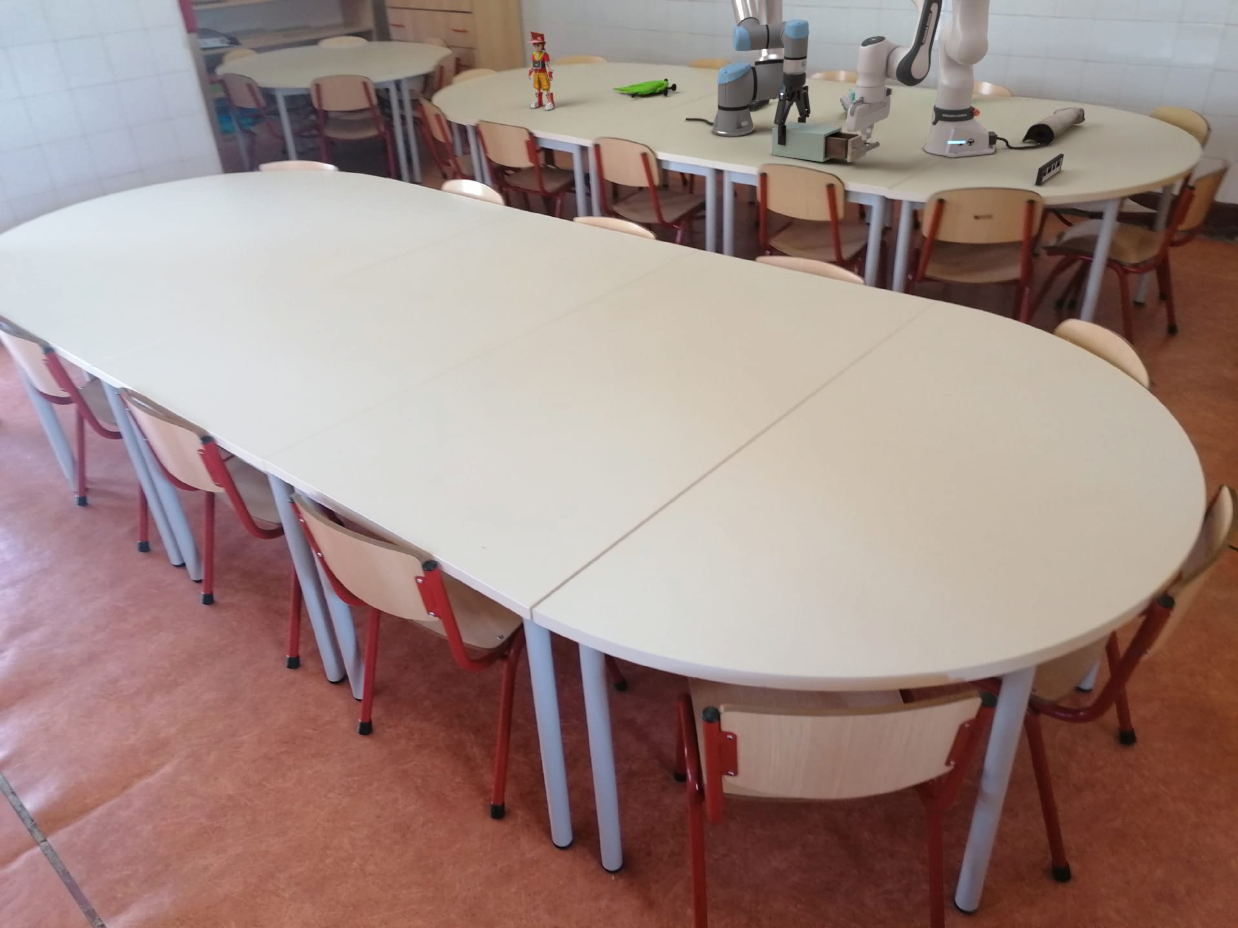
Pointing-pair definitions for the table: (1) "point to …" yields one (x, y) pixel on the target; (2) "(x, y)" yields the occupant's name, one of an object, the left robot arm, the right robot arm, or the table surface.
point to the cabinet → (803, 141)
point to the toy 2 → (648, 88)
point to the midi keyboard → (1049, 169)
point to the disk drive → (757, 104)
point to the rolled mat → (1054, 125)
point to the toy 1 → (541, 71)
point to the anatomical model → (847, 100)
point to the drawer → (847, 146)
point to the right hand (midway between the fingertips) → (866, 139)
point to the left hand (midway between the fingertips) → (791, 141)
